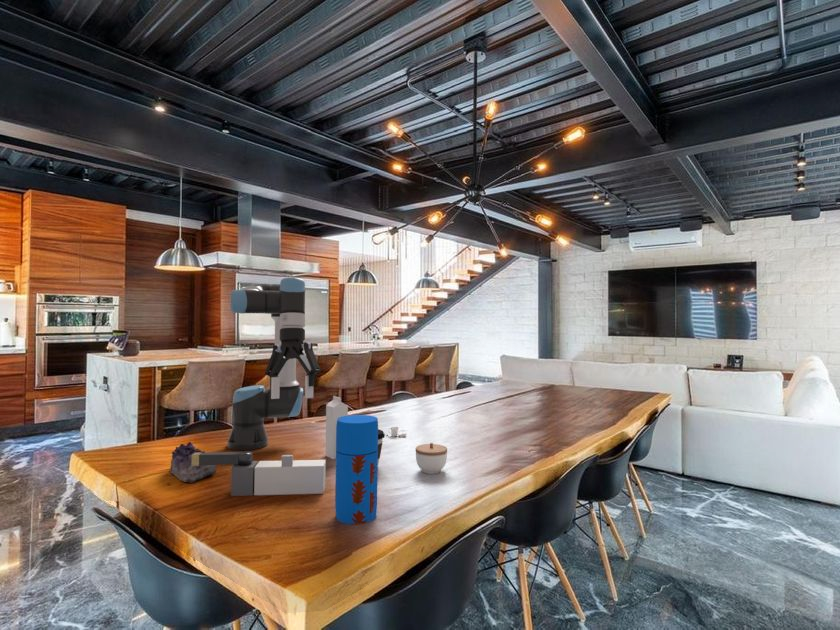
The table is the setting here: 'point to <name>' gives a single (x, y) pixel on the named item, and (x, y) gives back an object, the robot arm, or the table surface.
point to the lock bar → (222, 458)
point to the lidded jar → (431, 457)
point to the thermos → (356, 468)
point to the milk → (333, 424)
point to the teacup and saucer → (396, 432)
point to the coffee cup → (380, 442)
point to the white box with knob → (279, 477)
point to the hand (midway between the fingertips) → (291, 398)
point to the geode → (188, 464)
